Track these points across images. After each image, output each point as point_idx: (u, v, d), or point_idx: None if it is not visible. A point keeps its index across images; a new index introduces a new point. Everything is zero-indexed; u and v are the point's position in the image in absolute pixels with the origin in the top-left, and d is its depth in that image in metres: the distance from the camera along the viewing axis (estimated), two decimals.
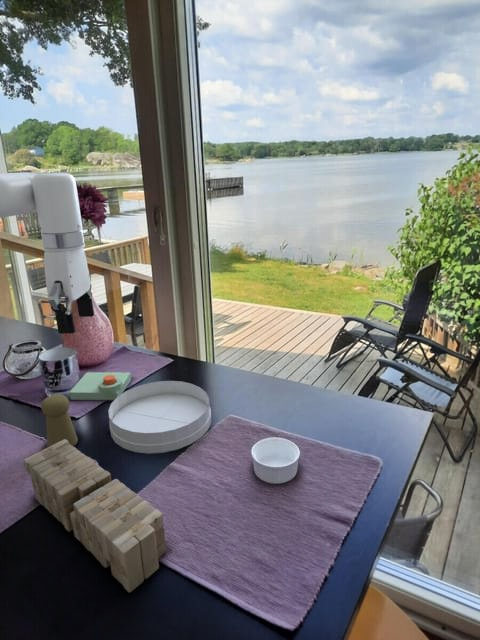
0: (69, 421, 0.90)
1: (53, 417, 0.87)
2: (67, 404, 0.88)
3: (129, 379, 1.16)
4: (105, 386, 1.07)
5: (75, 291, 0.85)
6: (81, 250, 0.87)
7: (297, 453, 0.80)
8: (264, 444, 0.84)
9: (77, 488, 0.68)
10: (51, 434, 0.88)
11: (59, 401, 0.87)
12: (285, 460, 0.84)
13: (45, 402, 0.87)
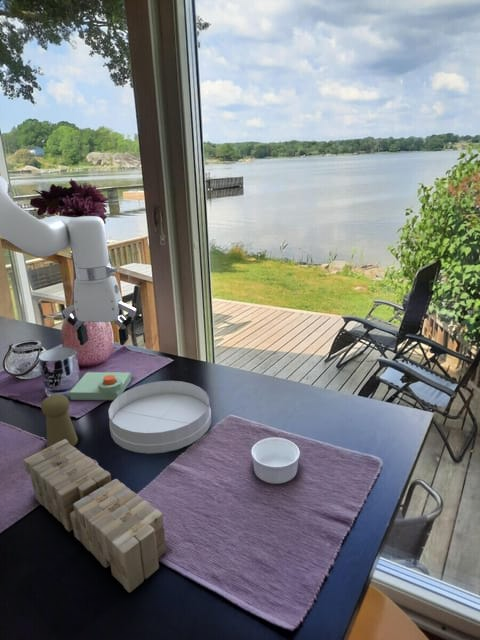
0: (69, 421, 0.90)
1: (53, 417, 0.87)
2: (67, 404, 0.88)
3: (129, 379, 1.16)
4: (105, 386, 1.07)
5: (82, 314, 1.00)
6: (98, 285, 0.97)
7: (297, 453, 0.80)
8: (264, 444, 0.84)
9: (77, 488, 0.68)
10: (51, 434, 0.88)
11: (59, 401, 0.87)
12: (285, 460, 0.84)
13: (45, 402, 0.87)
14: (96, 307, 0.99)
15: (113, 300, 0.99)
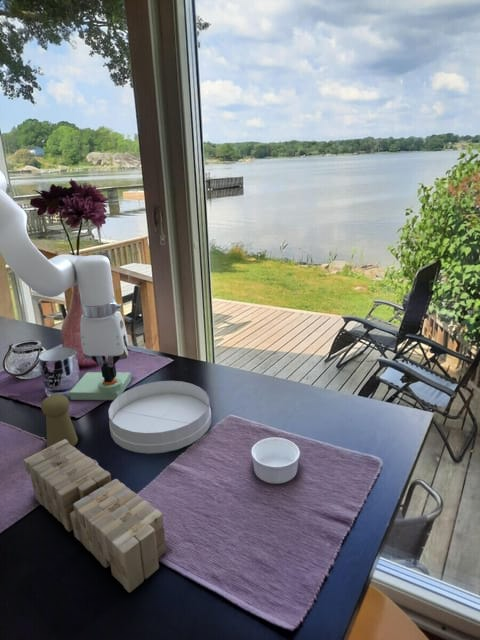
0: (69, 421, 0.90)
1: (53, 417, 0.87)
2: (67, 404, 0.88)
3: (129, 379, 1.16)
4: (105, 386, 1.07)
5: (88, 349, 1.04)
6: (104, 321, 1.01)
7: (297, 453, 0.80)
8: (264, 444, 0.84)
9: (77, 488, 0.68)
10: (51, 434, 0.88)
11: (59, 401, 0.87)
12: (285, 460, 0.84)
13: (45, 402, 0.87)
14: (102, 342, 1.03)
15: (118, 335, 1.02)
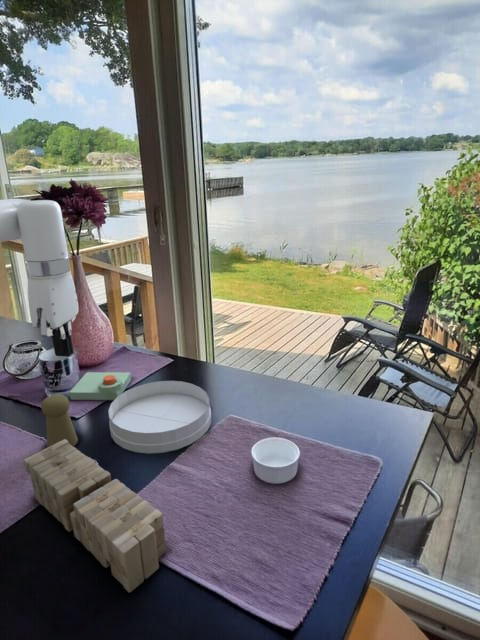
0: (69, 421, 0.90)
1: (53, 417, 0.87)
2: (67, 404, 0.88)
3: (129, 379, 1.16)
4: (105, 386, 1.07)
5: (58, 318, 0.84)
6: (67, 276, 0.86)
7: (297, 453, 0.80)
8: (264, 444, 0.84)
9: (77, 488, 0.68)
10: (51, 434, 0.88)
11: (59, 401, 0.87)
12: (285, 460, 0.84)
13: (45, 402, 0.87)
14: (68, 303, 0.87)
15: (75, 290, 0.90)
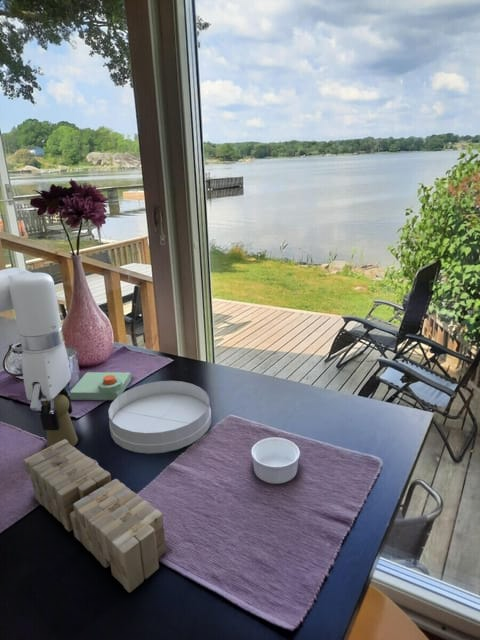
0: (69, 421, 0.90)
1: None
2: (67, 404, 0.88)
3: (129, 379, 1.16)
4: (105, 386, 1.07)
5: (54, 389, 0.84)
6: (60, 345, 0.86)
7: (297, 453, 0.80)
8: (264, 444, 0.84)
9: (77, 488, 0.68)
10: (51, 434, 0.88)
11: (59, 401, 0.87)
12: (285, 460, 0.84)
13: (45, 402, 0.87)
14: (62, 372, 0.86)
15: (67, 357, 0.90)
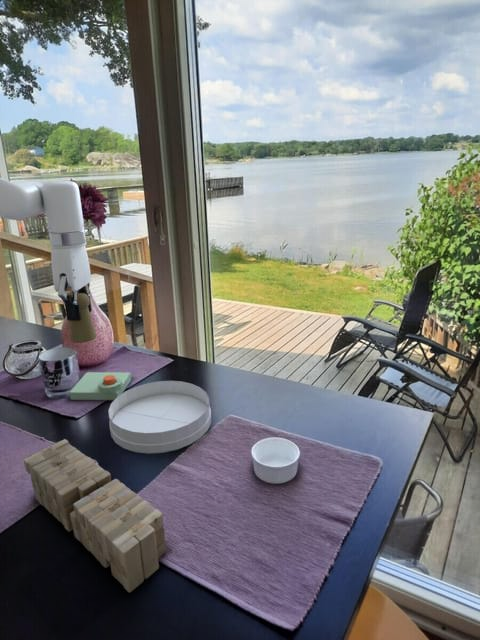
0: (89, 316, 1.04)
1: None
2: (88, 300, 1.03)
3: (129, 379, 1.16)
4: (105, 386, 1.07)
5: (77, 282, 0.98)
6: (83, 247, 1.00)
7: (297, 453, 0.80)
8: (264, 444, 0.84)
9: (77, 488, 0.68)
10: (73, 326, 1.03)
11: (81, 296, 1.01)
12: (285, 460, 0.84)
13: None
14: (84, 271, 1.01)
15: (88, 260, 1.04)
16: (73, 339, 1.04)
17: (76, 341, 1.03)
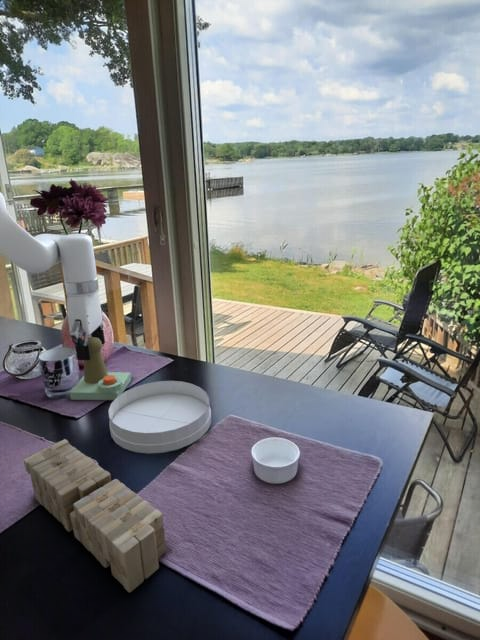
0: (102, 358, 1.12)
1: (90, 354, 1.10)
2: (100, 344, 1.11)
3: (129, 379, 1.16)
4: (105, 386, 1.07)
5: (91, 327, 1.06)
6: (95, 293, 1.08)
7: (297, 453, 0.80)
8: (264, 444, 0.84)
9: (77, 488, 0.68)
10: (87, 368, 1.11)
11: (94, 341, 1.10)
12: (285, 460, 0.84)
13: None
14: (96, 314, 1.09)
15: None
16: (87, 380, 1.12)
17: (90, 382, 1.12)
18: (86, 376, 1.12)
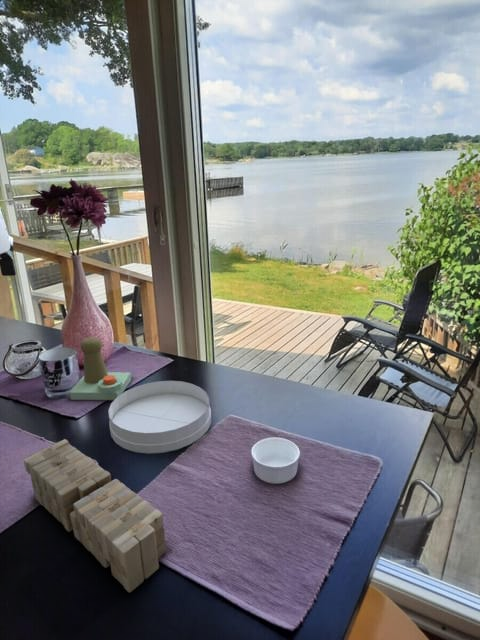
0: (102, 358, 1.12)
1: (90, 354, 1.10)
2: (100, 344, 1.11)
3: (129, 379, 1.16)
4: (105, 386, 1.07)
5: None
6: None
7: (297, 453, 0.80)
8: (264, 444, 0.84)
9: (77, 488, 0.68)
10: (87, 368, 1.11)
11: (94, 341, 1.10)
12: (285, 460, 0.84)
13: (83, 341, 1.10)
14: None
15: (6, 228, 1.01)
16: (87, 380, 1.12)
17: (90, 382, 1.12)
18: (86, 376, 1.12)
